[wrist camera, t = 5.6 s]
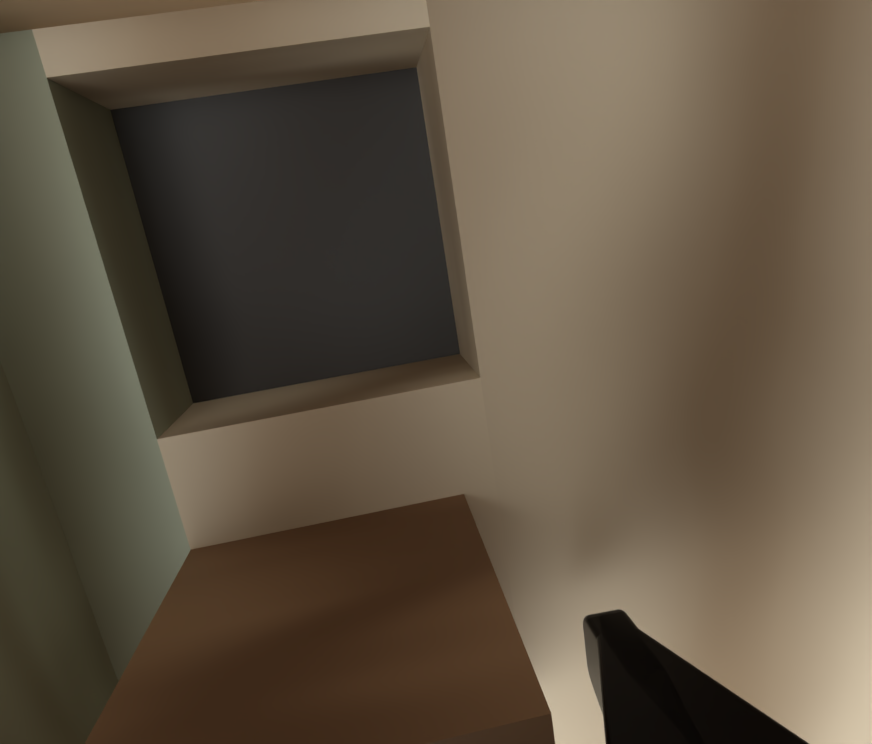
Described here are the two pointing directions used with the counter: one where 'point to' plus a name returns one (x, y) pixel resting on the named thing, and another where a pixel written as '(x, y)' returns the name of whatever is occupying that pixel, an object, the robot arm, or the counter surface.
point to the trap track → (444, 321)
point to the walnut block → (335, 642)
